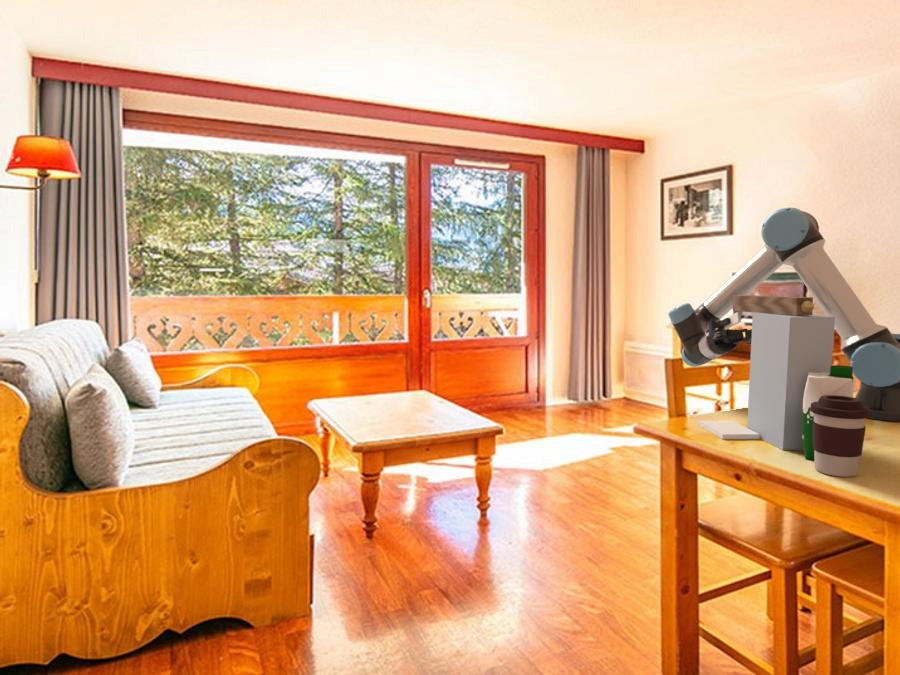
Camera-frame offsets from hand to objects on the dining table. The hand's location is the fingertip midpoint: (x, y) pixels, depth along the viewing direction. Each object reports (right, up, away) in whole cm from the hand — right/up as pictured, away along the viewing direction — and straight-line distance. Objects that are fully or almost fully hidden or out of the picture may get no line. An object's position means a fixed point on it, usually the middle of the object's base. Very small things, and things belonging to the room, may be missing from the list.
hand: (763, 319), depth 161 cm
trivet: (-13, -29, -7) cm, 32 cm away
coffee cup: (-5, -32, -39) cm, 51 cm away
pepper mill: (-4, +1, -13) cm, 14 cm away
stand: (-3, -29, -16) cm, 33 cm away
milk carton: (-2, -31, -29) cm, 43 cm away
